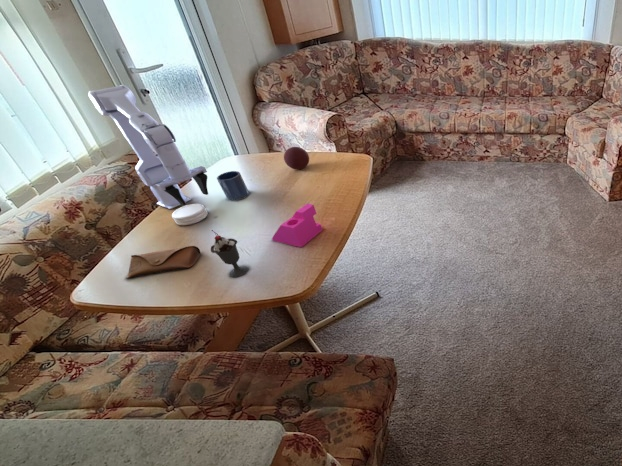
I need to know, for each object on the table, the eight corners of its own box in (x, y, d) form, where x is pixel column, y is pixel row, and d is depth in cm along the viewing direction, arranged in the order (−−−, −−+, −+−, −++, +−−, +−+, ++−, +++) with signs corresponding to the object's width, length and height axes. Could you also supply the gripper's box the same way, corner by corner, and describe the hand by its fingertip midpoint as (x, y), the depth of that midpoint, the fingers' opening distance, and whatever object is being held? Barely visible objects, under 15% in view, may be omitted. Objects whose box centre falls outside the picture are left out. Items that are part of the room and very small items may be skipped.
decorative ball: (316, 167, 171) (309, 147, 165) (293, 175, 166) (285, 154, 160) (306, 161, 177) (299, 141, 171) (284, 168, 171) (276, 148, 165)
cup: (222, 198, 151) (212, 178, 145) (241, 189, 156) (231, 169, 151) (235, 202, 148) (225, 182, 143) (253, 193, 154) (244, 173, 148)
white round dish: (213, 215, 140) (209, 207, 138) (184, 229, 134) (178, 220, 132) (200, 208, 145) (195, 200, 143) (171, 220, 138) (165, 212, 136)
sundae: (232, 265, 117) (209, 225, 108) (255, 263, 117) (233, 224, 108) (221, 280, 112) (196, 239, 103) (245, 278, 112) (222, 238, 103)
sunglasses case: (123, 279, 112) (116, 257, 111) (139, 275, 119) (133, 255, 118) (192, 267, 116) (186, 246, 115) (204, 263, 123) (199, 243, 122)
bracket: (322, 229, 131) (313, 204, 125) (301, 247, 124) (290, 221, 118) (295, 224, 135) (285, 199, 129) (272, 240, 127) (260, 215, 121)
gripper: (157, 175, 117) (179, 212, 125) (203, 156, 127) (222, 191, 135) (144, 170, 119) (167, 207, 127) (191, 153, 130) (209, 187, 138)
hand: (194, 199), depth 131 cm, fingers open, 7 cm apart
